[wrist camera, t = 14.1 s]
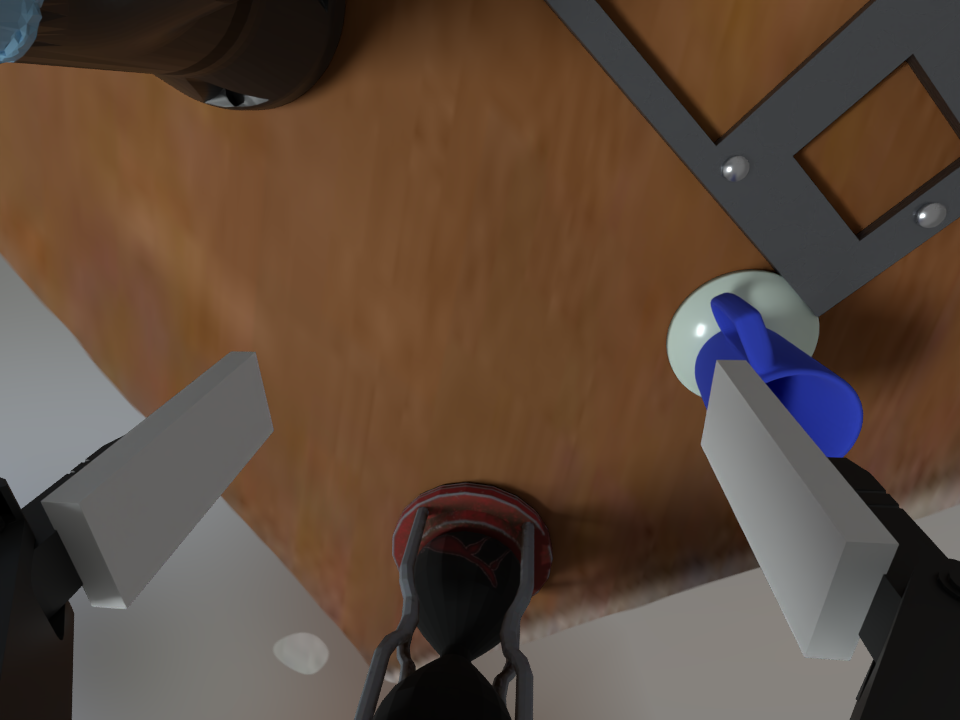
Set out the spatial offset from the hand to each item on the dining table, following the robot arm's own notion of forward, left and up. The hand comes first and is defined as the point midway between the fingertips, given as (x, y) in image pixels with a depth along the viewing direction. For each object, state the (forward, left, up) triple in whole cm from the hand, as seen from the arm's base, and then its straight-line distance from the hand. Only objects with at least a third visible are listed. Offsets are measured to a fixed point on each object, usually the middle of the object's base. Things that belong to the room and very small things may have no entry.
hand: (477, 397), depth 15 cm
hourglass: (+20, -26, -27) cm, 42 cm away
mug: (+18, +5, -26) cm, 32 cm away
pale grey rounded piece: (+19, +6, -27) cm, 33 cm away
